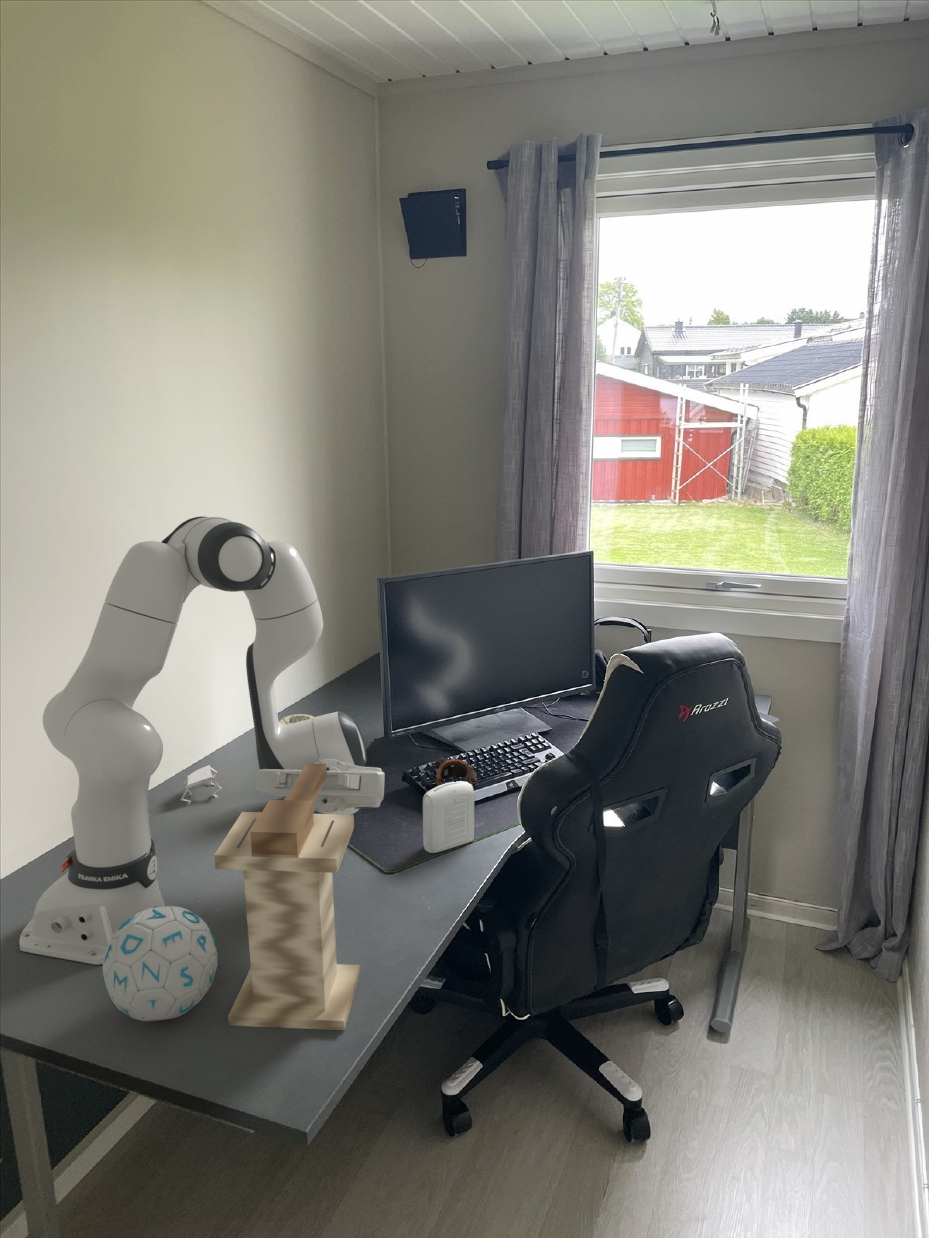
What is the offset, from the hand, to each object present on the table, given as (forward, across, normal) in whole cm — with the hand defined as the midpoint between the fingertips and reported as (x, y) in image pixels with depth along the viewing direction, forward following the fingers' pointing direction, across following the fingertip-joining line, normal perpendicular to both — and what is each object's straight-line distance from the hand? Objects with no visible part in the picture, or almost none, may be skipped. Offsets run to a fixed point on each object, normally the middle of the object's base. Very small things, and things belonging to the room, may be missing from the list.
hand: (311, 779), depth 136 cm
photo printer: (-40, +18, +8) cm, 44 cm away
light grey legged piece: (-56, -35, -1) cm, 66 cm away
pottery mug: (-59, +17, -3) cm, 62 cm away
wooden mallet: (+7, 0, +5) cm, 9 cm away
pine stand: (-1, 0, +31) cm, 31 cm away
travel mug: (-53, -14, 0) cm, 55 cm away
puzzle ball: (+2, -18, +33) cm, 37 cm away
